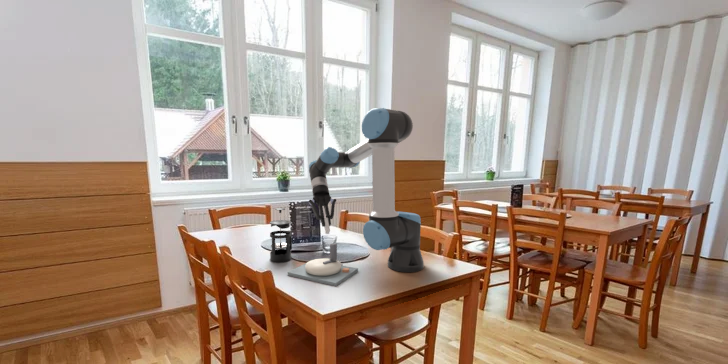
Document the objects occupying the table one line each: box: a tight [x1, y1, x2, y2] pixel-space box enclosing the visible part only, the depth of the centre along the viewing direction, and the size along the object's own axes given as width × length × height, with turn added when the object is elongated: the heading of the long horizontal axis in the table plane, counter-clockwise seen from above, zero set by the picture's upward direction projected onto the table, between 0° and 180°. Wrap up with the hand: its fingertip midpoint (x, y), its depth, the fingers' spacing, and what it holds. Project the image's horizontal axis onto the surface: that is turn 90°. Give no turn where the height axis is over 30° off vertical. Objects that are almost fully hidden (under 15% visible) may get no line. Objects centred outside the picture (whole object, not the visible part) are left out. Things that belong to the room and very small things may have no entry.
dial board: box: [287, 262, 359, 287], centre depth 131 cm, size 22×18×2 cm
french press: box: [269, 207, 293, 264], centre depth 146 cm, size 12×9×23 cm
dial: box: [306, 243, 341, 276], centre depth 130 cm, size 14×14×9 cm
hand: (327, 232), depth 141 cm, fingers closed
